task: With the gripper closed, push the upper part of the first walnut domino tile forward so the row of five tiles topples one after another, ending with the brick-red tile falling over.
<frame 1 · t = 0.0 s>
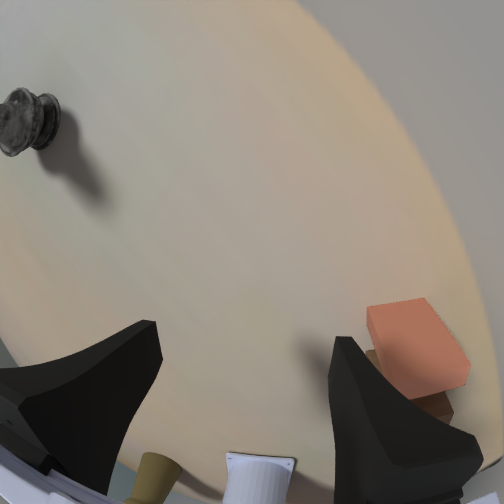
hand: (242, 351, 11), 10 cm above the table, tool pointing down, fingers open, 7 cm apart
tile 4: (392, 353, 22), on the table
tile 5: (396, 311, 21), on the table
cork: (162, 462, 33), on the table
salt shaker: (42, 121, 20), on the table
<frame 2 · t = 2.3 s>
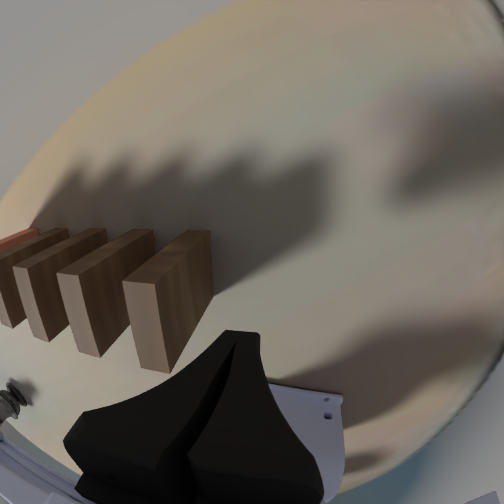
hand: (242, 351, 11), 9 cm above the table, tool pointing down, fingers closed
tile 4: (65, 255, 22), on the table
tile 5: (37, 253, 23), on the table
tile 3: (101, 258, 21), on the table
tile 2: (146, 261, 21), on the table
tile 1: (200, 264, 20), on the table
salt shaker: (17, 394, 34), on the table
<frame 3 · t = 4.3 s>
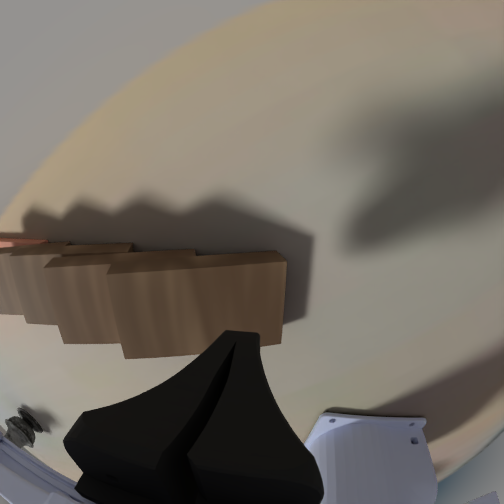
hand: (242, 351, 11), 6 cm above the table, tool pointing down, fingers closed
tile 4: (72, 278, 17), point 1 cm above the table, tilted 71°
tile 5: (52, 271, 18), on the table, tilted 90°
tile 3: (134, 285, 17), point 1 cm above the table, tilted 71°, touching tile 2
tile 2: (197, 294, 16), point 1 cm above the table, tilted 68°, touching tile 1, tile 3
tile 1: (278, 298, 16), point 1 cm above the table, tilted 68°, touching tile 2
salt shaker: (30, 419, 30), on the table
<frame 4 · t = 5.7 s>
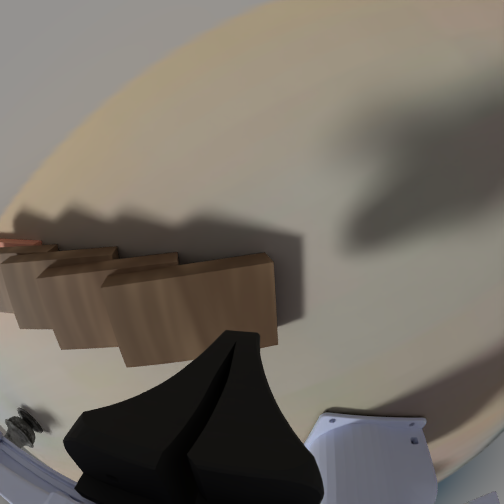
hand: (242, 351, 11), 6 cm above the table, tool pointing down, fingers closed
tile 4: (58, 280, 17), point 1 cm above the table, tilted 74°, touching tile 3, tile 5
tile 5: (46, 271, 18), on the table, tilted 90°, touching tile 4
tile 3: (120, 287, 17), point 1 cm above the table, tilted 69°, touching tile 2, tile 4
tile 2: (183, 296, 16), point 1 cm above the table, tilted 69°, touching tile 1, tile 3
tile 1: (271, 299, 16), point 1 cm above the table, tilted 70°, touching tile 2
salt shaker: (30, 419, 30), on the table
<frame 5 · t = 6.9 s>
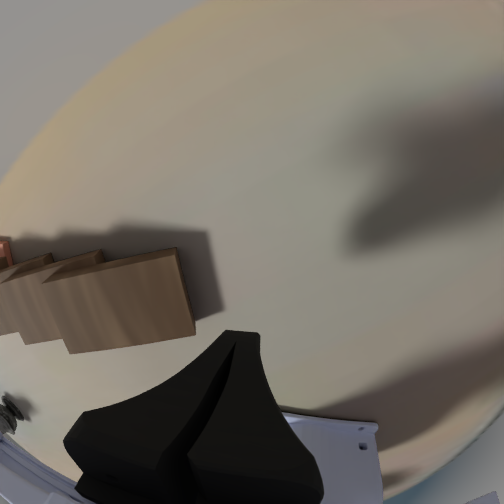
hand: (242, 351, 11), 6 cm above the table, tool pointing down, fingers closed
tile 4: (7, 286, 18), point 2 cm above the table, tilted 90°, touching tile 5
tile 5: (14, 267, 19), on the table, tilted 90°, touching tile 4
tile 3: (57, 286, 18), point 1 cm above the table, tilted 68°, touching tile 2
tile 2: (109, 288, 17), point 1 cm above the table, tilted 70°, touching tile 1, tile 3
tile 1: (185, 291, 16), point 1 cm above the table, tilted 71°, touching tile 2
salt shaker: (13, 407, 30), on the table
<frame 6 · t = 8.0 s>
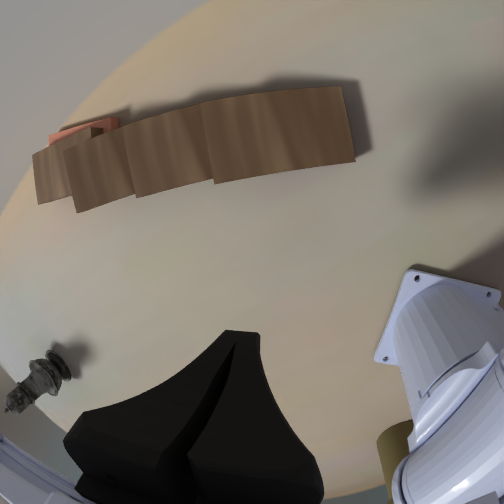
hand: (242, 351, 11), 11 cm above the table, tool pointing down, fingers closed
tile 4: (99, 156, 20), point 2 cm above the table, tilted 90°, touching tile 3
tile 5: (117, 146, 21), on the table, tilted 90°
tile 3: (178, 145, 19), point 1 cm above the table, tilted 68°, touching tile 2, tile 4
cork: (403, 436, 24), on the table
tile 2: (258, 130, 18), point 1 cm above the table, tilted 71°, touching tile 1, tile 3
tile 1: (343, 125, 17), point 1 cm above the table, tilted 72°, touching tile 2
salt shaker: (58, 365, 33), on the table
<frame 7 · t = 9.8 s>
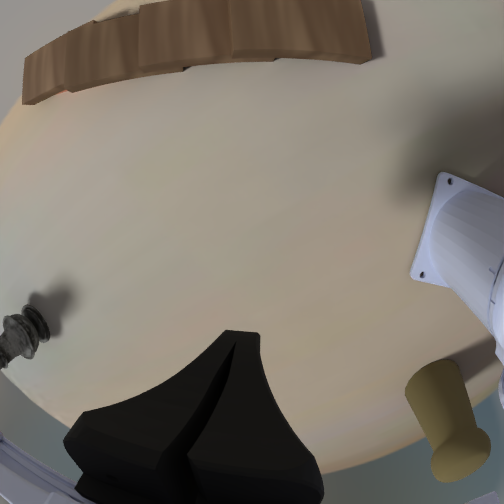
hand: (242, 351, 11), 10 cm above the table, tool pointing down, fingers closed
tile 4: (97, 46, 16), point 1 cm above the table, tilted 89°, touching tile 3, tile 5
tile 3: (182, 38, 16), point 1 cm above the table, tilted 71°, touching tile 2, tile 4
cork: (432, 382, 23), on the table
tile 2: (272, 27, 15), point 1 cm above the table, tilted 74°, touching tile 1, tile 3
tile 1: (360, 30, 14), point 1 cm above the table, tilted 74°, touching tile 2
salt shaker: (36, 323, 28), on the table
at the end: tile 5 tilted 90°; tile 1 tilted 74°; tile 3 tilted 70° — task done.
